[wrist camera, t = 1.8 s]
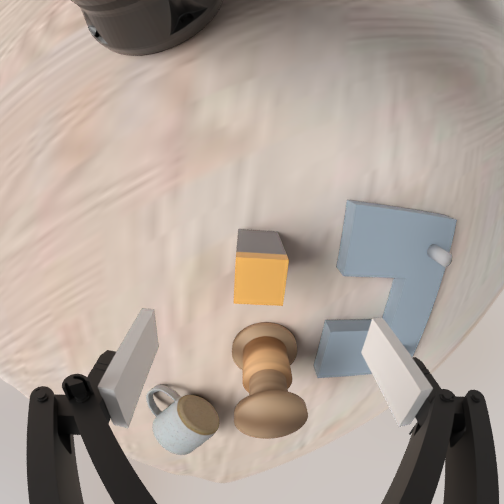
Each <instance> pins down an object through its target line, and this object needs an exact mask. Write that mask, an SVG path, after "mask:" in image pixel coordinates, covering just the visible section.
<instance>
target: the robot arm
mask: <svg viewBox="0 0 504 504" xmlns="http://www.w3.org/2000/svg"><path fill="white" fill-rule="evenodd" d="M71 1H72V2H74V3H75V4H77V5H78V6H79V7H81V10H82V13H83V15H84V18H85V20H86V23H87V25H88V28H89V30H90V32H91V34H92V36H93V37H94V38H95V39H96V40H97V41H98V42H99V43H101V44H102V45H104V46H105V47H107V48H108V49H110V50H112V51H114V52H116V53H119V54H124V55H147V54H152V53H157V52H160V51H163V50H166V49H169V48H172V47H174V46H176V45H178V44H180V43H182V42H184V41H186V40H188V39H189V38H191V37H192V36H194V35H195V34H197V33H198V32H199V31H200V30H202V29H203V28H204V27H205V26H206V25H207V24H208V23H209V22H210V21H211V20H212V18H213V17H214V16H215V15H216V13H217V11H218V10H219V8H220V6H221V3H222V0H71ZM158 347H159V344H158V336H157V328H156V320H155V311H154V309H146V308H142V309H141V311H140V313H139V314H138V316H137V318H136V319H135V321H134V323H133V324H132V326H131V328H130V329H129V331H128V333H127V335H126V336H125V338H124V340H123V341H122V343H121V345H120V347H119V348H118V350H117V352H115V351H109V350H107V351H106V352H104V353H103V354H102V355H100V357H99V359H98V360H97V362H96V364H95V365H94V367H93V369H92V370H91V372H90V374H89V375H88V377H86V376H84V375H81V374H73V375H70V376H68V377H67V378H66V379H64V381H63V383H62V388H63V390H64V392H65V395H54V393H53V391H52V390H51V389H50V388H48V387H44V386H42V387H38V388H36V389H34V390H33V392H32V393H31V395H30V403H29V412H28V426H27V479H28V480H27V481H28V492H29V503H30V504H84V503H83V498H82V493H81V488H80V482H79V477H78V470H77V464H76V456H75V447H74V437H73V435H81V437H82V439H83V442H84V444H85V446H86V449H87V451H88V453H89V455H90V457H91V460H92V462H93V464H94V466H95V468H96V470H97V472H98V474H99V476H100V478H101V480H102V482H103V484H104V486H105V488H106V489H107V491H108V493H109V495H110V497H111V498H112V500H113V502H114V503H115V504H157V503H156V502H155V500H154V499H153V497H152V496H151V495H150V493H149V492H148V491H147V489H146V487H145V486H144V485H143V483H142V482H141V480H140V479H139V477H138V475H137V474H136V472H135V471H134V469H133V468H132V466H131V464H130V463H129V461H128V459H127V458H126V456H125V454H124V452H123V451H122V449H121V447H120V445H119V444H118V442H117V440H116V438H115V436H114V434H113V432H112V430H111V428H110V426H109V424H108V423H109V421H110V418H111V420H112V422H113V424H114V425H117V426H121V427H125V428H129V425H130V422H131V419H132V416H133V414H134V411H135V408H136V405H137V402H138V400H139V397H140V394H141V392H142V389H143V386H144V384H145V381H146V378H147V376H148V373H149V370H150V368H151V365H152V363H153V360H154V358H155V355H156V352H157V350H158ZM361 353H362V355H363V357H364V359H365V361H366V363H367V365H368V367H369V369H370V371H371V372H372V374H373V376H374V378H375V380H376V382H377V384H378V386H379V388H380V390H381V392H382V394H383V396H384V398H385V400H386V402H387V404H388V406H389V408H390V410H391V412H392V414H393V416H394V419H395V421H396V422H397V425H398V427H401V426H405V425H408V424H411V422H412V421H413V419H414V418H415V417H416V419H417V421H418V422H417V423H416V425H415V426H414V427H413V429H412V430H411V432H410V433H409V434H411V433H412V432H413V433H412V435H411V438H410V441H409V444H408V447H407V449H406V451H405V454H404V456H403V459H402V461H401V464H400V466H399V468H398V471H397V473H396V475H395V477H394V479H393V482H392V484H391V486H390V488H389V490H388V492H387V494H386V496H385V498H384V500H383V501H382V503H381V504H431V502H432V499H433V497H434V494H435V491H436V488H437V485H438V482H439V478H440V475H441V472H442V468H443V465H444V461H445V490H444V503H443V504H499V487H498V473H497V462H496V454H495V447H494V440H493V434H492V429H491V424H490V419H489V415H488V410H487V406H486V401H485V399H484V396H483V395H482V394H481V392H479V391H477V390H470V391H468V393H467V394H466V396H465V397H455V395H454V394H453V393H452V392H451V391H449V390H446V389H441V388H440V387H439V385H438V383H437V382H436V381H435V379H434V378H433V376H432V375H431V374H430V372H429V371H428V369H426V367H425V365H424V364H423V362H422V361H420V360H419V359H418V358H416V357H413V358H412V357H411V356H410V354H409V353H408V351H407V350H406V349H405V347H404V346H403V345H402V343H401V342H400V340H399V339H398V338H397V336H396V335H395V334H394V332H393V331H392V330H391V328H390V327H389V326H388V324H387V323H386V322H385V320H384V319H383V318H372V321H371V324H370V327H369V331H368V334H367V337H366V340H365V343H364V346H363V349H362V352H361Z"/></svg>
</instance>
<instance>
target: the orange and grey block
mask: <svg viewBox="0 0 504 504" xmlns="http://www.w3.org/2000/svg"><path fill="white" fill-rule="evenodd" d="M288 262H289V259H288V257H287V254H286V252H285V249H284V247H283V244H282V242H281V239H280V237H279V234H278V232H275V231H260V230H244V229H238V240H237V251H236V266H235V285H234V303H236V304H254V305H278V306H283V300H284V293H285V286H286V278H287V270H288Z"/></svg>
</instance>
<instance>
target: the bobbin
mask: <svg viewBox="0 0 504 504" xmlns="http://www.w3.org/2000/svg"><path fill="white" fill-rule="evenodd" d="M296 355H297V345H296V341H295V338H294V336H293V334H292V333H291V332H290V331H289V330H288V329H287V328H285V327H284V326H281V325H279V324H275V323H269V322H263V323H257V324H253V325H250V326H248V327H246V328H244V329H243V330H242V331H240V332H239V333H238V334H237V336H236V337H235V339H234V341H233V346H232V357H233V360H234V362H235V363H236V365H237V366H238V367H239V368H240V369H242V370H243V386H244V388H245V389H246V391H248V392H249V396H247V397H246V398H244V399H242V400H241V401H240V402H239V403H238V404H237V406H236V408H235V411H234V423H235V426H236V427H237V429H238V430H240V431H241V432H242V433H244V434H246V435H248V436H252V437H256V438H266V439H268V438H278V437H283V436H286V435H289V434H291V433H293V432H295V431H297V430H298V429H300V428H301V427H302V426H303V425H304V424H305V422H306V421H307V418H308V413H307V408H306V404H305V402H304V400H303V399H302V398H301V397H299V396H298V395H296V394H294V393H291V392H288V388H289V387H290V385H291V383H292V374H291V369H290V365H291V364H292V363H293V361H294V360H295V358H296Z"/></svg>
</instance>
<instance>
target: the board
mask: <svg viewBox="0 0 504 504" xmlns="http://www.w3.org/2000/svg"><path fill="white" fill-rule="evenodd" d="M456 221H457V220H456V219H453V218H451V217H449V216H446V215H443V214H437V213H432V212H426V211H420V210H414V209H408V208H402V207H395V206H389V205H382V204H375V203H368V202H360V201H352V200H347V204H346V212H345V218H344V225H343V232H342V238H341V244H340V250H339V255H338V261H337V266H336V267H337V268H338V270H339V271H340V272H341V274H342V275H343V276H355V277H385V278H394V279H393V283H392V287H391V290H390V294H389V297H388V301H387V304H386V307H385V311H384V314H383V317H382V318H383V319H384V320H385V322H386V323H387V324H388V326H389V327H390V328H391V330H392V331H393V332H394V334H395V335H396V336H397V338H398V339H399V340H400V342H401V343H402V345H403V346H404V347H405V349H406V350H407V351H408V353H409V354H410V356H411V357H413V355H414V352H415V350H416V348H417V346H418V343H419V341H420V339H421V336H422V334H423V331H424V329H425V326H426V324H427V321H428V319H429V316H430V313H431V311H432V308H433V305H434V302H435V299H436V296H437V293H438V290H439V287H440V284H441V281H442V277H443V274H444V271H445V267H447V266H449V265H450V263H451V261H452V255H451V254H450V253H449V252H450V248H451V244H452V240H453V236H454V231H455V226H456ZM371 321H372V319H366V320H325V323H324V327H323V331H322V336H321V340H320V344H319V348H318V351H317V355H316V359H315V363H314V368H315V371H316V375H317V378H325V377H341V376H354V375H365V374H372V372H371V371H370V369H369V367H368V365H367V363H366V361H365V359H364V357H363V355H362V353H361V352H362V349H363V346H364V343H365V340H366V337H367V334H368V331H369V327H370V324H371Z"/></svg>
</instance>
